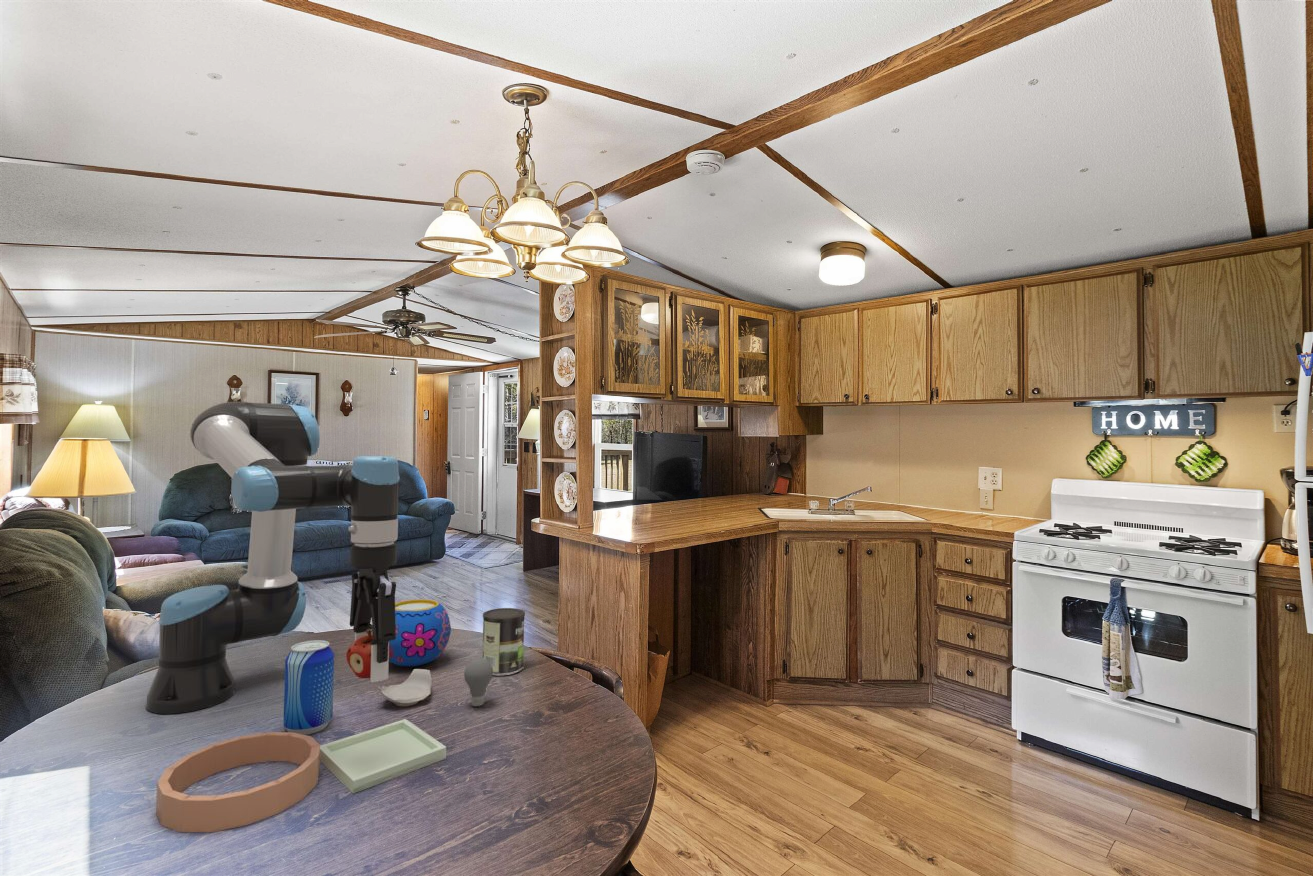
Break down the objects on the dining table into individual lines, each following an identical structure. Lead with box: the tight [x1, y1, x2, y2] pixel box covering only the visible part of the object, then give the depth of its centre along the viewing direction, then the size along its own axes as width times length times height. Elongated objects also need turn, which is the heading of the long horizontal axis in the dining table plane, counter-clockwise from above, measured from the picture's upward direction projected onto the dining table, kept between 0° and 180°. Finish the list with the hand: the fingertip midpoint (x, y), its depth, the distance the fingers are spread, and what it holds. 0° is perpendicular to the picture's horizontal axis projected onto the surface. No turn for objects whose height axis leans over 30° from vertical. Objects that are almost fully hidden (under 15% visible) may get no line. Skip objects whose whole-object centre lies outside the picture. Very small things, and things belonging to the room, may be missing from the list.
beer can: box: [283, 639, 335, 735], centre depth 122 cm, size 8×8×16 cm
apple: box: [346, 620, 396, 679], centre depth 109 cm, size 8×7×10 cm
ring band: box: [155, 731, 321, 833], centre depth 99 cm, size 21×21×4 cm
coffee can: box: [481, 607, 526, 674], centre depth 155 cm, size 10×10×14 cm
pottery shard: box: [377, 668, 433, 707], centre depth 135 cm, size 10×11×5 cm
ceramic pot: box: [371, 598, 452, 668], centre depth 158 cm, size 18×18×15 cm
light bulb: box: [463, 657, 493, 707], centre depth 133 cm, size 6×6×10 cm
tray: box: [320, 718, 447, 794], centre depth 110 cm, size 16×16×2 cm
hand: (370, 674), depth 109 cm, fingers closed on apple, 7 cm apart
